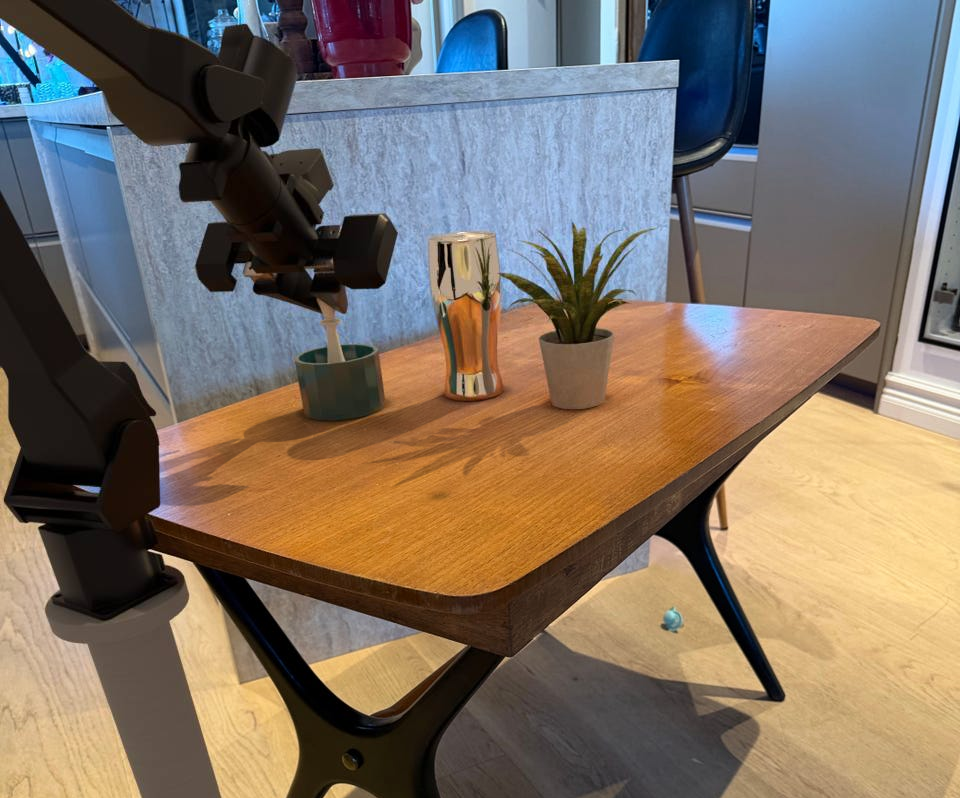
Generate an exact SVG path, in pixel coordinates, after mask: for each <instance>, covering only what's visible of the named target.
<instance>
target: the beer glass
mask: <svg viewBox="0 0 960 798" xmlns="http://www.w3.org/2000/svg"><path fill="white" fill-rule="evenodd" d="M427 247H428V248H427V249H428V251H427V253H428V255H427V256H428V258H427V259H428V278H429V279H428V280H429V289H430V297H431V302H432V307H433V312H434V316H435V321H436V324H437V327H438V332H439V335H440V340H441V343H442V347H443V350H444V358H445V371H446V372H445V381H444V382H445V383H444V395H445V397H446V398H448V399H449V400H452V401H458V402H474V401H475V402H477V401H483V400H488V399H492V398H495V397H498V396H499V395H501V394H503V392H504V383H503V379H502V377H501V376H502V375H501V371H500V367H499V359H498V341H499V330H500V319H501V318H500V317H501V309H502V308H501V307H502V276H501V275H500V274H498V273H501V264H500V257H499V249H498V243H497V233H496V231H495V232H494V231H490V230H471V231H470V230H468V231H457V232H449V233H442V234H437V235H433V236H430V237H428V238H427Z"/></svg>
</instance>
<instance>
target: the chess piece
mask: <svg viewBox="0 0 960 798" xmlns="http://www.w3.org/2000/svg"><path fill="white" fill-rule="evenodd" d="M316 300H317V302H318V304H319V306H320V308H321V311H322V313H323V314H322V315H323V317H324V318H323V319H322V320H320V321H319V326H321V327H325V328H326V343H327V344H326V346H327V349H328V363H335V362H343V361H345V359H344V356H343V353H342V349H341V345H340V344H341V342H340V338H339V333H338V330H337V326H338V325H340V324H342V320H341V318H337V317H336V316H335V314H336V310H334V309H333V308H331V307H330V306H328V305H327V304H326V303H324V302H323V301H321V300H320V299H318V298H317V297H316Z"/></svg>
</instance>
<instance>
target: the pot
mask: <svg viewBox="0 0 960 798" xmlns="http://www.w3.org/2000/svg"><path fill="white" fill-rule="evenodd" d="M340 345H341V349H342V353H343V356H344V359H345V361H343V362H335V363H328V349H327V345H326V346H321V347H320V346H319V347H316V348H312V349H308V350H306V351H302V352H300V353H299V354H297V355H295V356H294V358H293V359H294V365H295V371H296V376H297V381H298V386H299V393H300V398H301V404H302V410H303V413H304V416H305V417H307V418H308V419H311V420H315V421H323V422H324V421H327V422H329V421H330V422H331V421H333V422H335V421H346V420H353V419H358V418H363V417H366V416H369V415H373V414H375V413H378V412H379V411H381V410H383V409H384V408H385V406H386V396H385V389H384V381H383V372H382V367H381V359H380V358H381V357H380V351H379V348H378V347H377V346H375V345H371V344H368V343H367V344H366V343H342V344H341V343H340Z"/></svg>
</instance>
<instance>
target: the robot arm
mask: <svg viewBox="0 0 960 798" xmlns="http://www.w3.org/2000/svg"><path fill="white" fill-rule="evenodd" d="M0 20H1V21H3V22H5V23H6V24H7V25H9V26H11V27H12V28H13V29H15V30H16V31H17V32H19V33H21V34H22V35H23V36H25V37H27V38H28V39H29V40H31V41H32V42H33V43H35V44H37V45H38V46H40V47H41V48H43V49H44V50H45V51H47V52H48V53H50V54H51V55H53V56H54V57H56V58H57V59H59V61H62V62H63V63H65V65H68V66H69V67H71V68H72V69H73V70H75V71H76V72H78V73H79V74H80V75H82V76H84V77H85V78H87V79H88V80H89V81H91V83H93V84H94V85H95V86H96V87H97V88H98V89H99V90H100V91H101V93H102V96H103V98H104V100H105V104H106V105H107V108H108V110H109V112H110V113H111V114H112V116H114V117H115V118H116V119H117V120H118V121H119V122H120V123H121V124H123V126H125V128H127V129H128V130H129V131H130V132H131V133H132V134H133V135H135V136H136V138H137V139H139V141H141V142H142V143H144V144H146V145H148V146H151V147H166V146H176V145H189V146H188V149H187V153H186V155H185V159H184V161H183V162H181V161H180V163H179V164H178V169H179V175H180V176H179V182H178V193H179V199H180V201H181V202H182V203H198V202H199V203H200V202H210V203H211V204H212V205H213V206H214V207H215V209H216V210H217V212H218V213H220V215H221V217H223V219H224V220H225V221H213V222H208V223H207V225H206V229H205V232H204V235H203V239H202V241H201V244H200V247H199V251H198V255H197V258H196V261H195V264H194V270H195V274H196V277H197V280H198V281H199V282H200V283H201V284H202V285H203V286H204V287H205V288H206V289H207V290H208V291H209V293H227V292H228V293H231V292H235V291H234V290H235V288H236V285H237V282H238V280H237V278H236V277H234V275H233V271H234V268H235V265H238V264H239V265H240V264H241V265H242V264H243V265H244V267H243V271H242V275H243V276H244V278H249V279H250V280H251V282H253V285H252V292H253V293H254V294H255V295H257V296H264V297H267V298H272V299H275V300H279V301H281V302H285V303H289V304H292V305H293V306H298V307H301V308H304V309H307V310H308V311H313V312H315V313H318V314H321V315H323V313H322V311H321V308H320V306H319V304H318V302H317V300H316V297H317V298H318V299H320V300H321V301H323V302H324V303H326V304H327V305H328V306H330V307H331V308H333V309H334V310H335V312H338V313H340V314H342V315H346V314H347V312H348V308H349V302H348V301H349V300H348V296H347V290H346V288H348V289H350V290H380V288H381V287H382V286H384V285H385V284H386V282H387V278H388V275H389V271H390V266H391V262H392V258H393V255H394V251H395V246H396V242H397V238H398V234H399V232H398V231H397V228H396V227H395V225H394V223H393V222H392V219H390V217H389V216H388V214H387V213H386V212H385V213H383V212H382V213H363V214H361V213H360V214H350V215H349V214H348V215H346V216H344V217H343V220H342V224H331V225H330V224H328V225H326V224H325V225H322V222H323V218H324V216H325V211H324V209H322V207H321V205H320V204H321V203H322V201H323V199H325V197H326V195H327V193H328V192H329V191H332V189H333V188H334V182H333V179H332V176H331V174H330V170H329V167H328V165H327V162H326V159H325V156H324V153H323V151H322V149H321V148H317V147H316V148H315V147H314V148H303V149H292V150H291V149H290V150H284V151H280V152H278V153H270V154H269V153H268V152H267V151H266V150H262V148H268V147H271V146H273V145H275V144H276V143H278V142H279V140H280V138H281V135H282V133H283V128H284V125H285V122H286V119H287V114H288V113H289V108H290V105H291V102H292V97H293V94H294V90H295V88H296V84H297V81H298V80H297V79H298V69H297V66H296V64H295V62H294V60H293V58H292V57H291V55H290V54H289V53H287V52H285V51H284V50H283V49H282V48H281V47H279V46H278V45H277V44H275V43H274V42H272V41H270V40H268V39H267V38H264V37H261V36H258V35H255V34H254V33H253V31H252V30H251V28H250V26H249V25H248V23H241V24H234V25H232V24H231V25H226V26H224V29H223V32H222V35H221V40H220V47H219V51H218V54H217V55H216V54H215V53H214V52H213V51H212V50H210V49H209V48H207V47H206V46H203V45H202V44H200V43H198V42H197V41H195V40H193V39H191V38H189V37H188V36H186V35H184V34H182V33H179V32H175V31H171V30H167V29H164V28H161V27H156V26H153V25H150V24H147V23H145V22H143V20H140V19H138V18H136V17H135V16H133V15H132V14H131V13H129V11H127V10H126V9H124V8H123V7H122V6H121V5H120V4H119V3H117V2H116V1H115V0H0ZM318 225H319V226H318ZM317 226H318V227H317ZM316 227H317V228H316ZM307 270H312V271H313V278H312V276H311V274H309V272H308V271H307ZM0 367H1V369H2V370H3V372H4V374H5V376H6V378H7V379H6V380H7V418H8V423H9V425H10V427H11V429H12V431H13V433H14V436H15V438H16V440H17V443H18V445H19V447H20V449H19V451H18V454H17V458H16V461H15V463H14V467H13V468H12V472H11V475H10V479H9V482H8V485H7V487H6V490H5V493H4V496H3V503H4V505H5V506H6V508H7V509H8V510H9V511H10V512H11V514H12V515H13V516H14V518H15V519H16V520H17V521H18V522H19V523H20V524H30V523H31V524H32V523H33V524H42V525H40V526H37V531H38V533H39V535H40V536H39V537H40V539H41V541H42V544H43V546H44V549H45V552H46V555H47V558H48V561H49V563H50V565H51V569H52V572H53V575H54V577H55V580H56V582H57V586H58V588H59V590H60V591H61V592H58V593H56V592H55V593H56V594H55V593H53V594H54V595H53V594H52V595H53V596H52V595H51V596H52V597H51V596H50V598H51V600H52V602H53V604H56V605H58V606H61V607H64V608H67V609H70V610H73V611H75V612H78V613H81V614H84V615H87V616H90V617H93V618H95V619H98V620H101V621H107V620H110V619H113V618H114V617H116V616H118V615H120V614H122V613H124V612H126V611H128V610H129V609H131V608H133V607H135V606H137V605H139V604H141V603H143V602H145V601H146V600H148V599H150V598H152V597H154V596H156V595H158V594H160V593H161V592H163V591H165V590H167V589H169V588H171V587H173V586H175V585H176V584H177V583H178V581H177V578H176V576H173V575H170V574H166V573H163V572H162V571H164V570H165V565H166V563H165V561H164V557H163V554H162V553H157V552H153V551H149V550H152V549H153V548H155V546H156V545H157V544H159V539H158V535H157V531H156V529H155V528H156V527H155V525H154V521H153V519H152V518H150V517H147V515H149V514H150V513H152V512H153V511H155V510H157V509H159V508H160V506H161V477H160V476H161V474H160V473H161V471H160V439H159V434H158V430H157V428H156V426H155V423H154V421H153V419H152V418H151V417H156V416H157V411H156V410H155V409H154V408H153V407H152V406H151V405H150V404H149V402H148V400H147V399H146V398H145V396H144V394H143V391H142V389H141V386H140V383H139V382H138V381H139V380H138V378H137V375H136V373H135V371H134V370H133V369H132V368H131V366H130V365H129V363H127V362H126V361H112V360H111V361H109V360H107V361H106V360H105V361H104V360H103V361H101V360H98V359H97V358H95V357H94V356H93V355H92V354H91V353H89V352H88V351H87V349H86V348H85V347H84V345H83V344H82V342H81V341H80V339H79V337H78V335H77V333H76V330H74V327H73V325H72V323H71V321H70V320H69V318H68V316H67V314H66V311H65V310H64V308H63V307H62V305H61V303H60V301H59V299H58V297H57V295H56V293H55V291H54V289H53V287H52V285H51V283H50V282H49V279H48V278H47V276H46V274H45V272H44V270H43V269H42V267H41V264H40V263H39V261H38V259H37V257H36V255H35V253H34V251H33V249H32V248H31V246H30V243H29V242H28V240H27V238H26V236H25V234H24V233H23V230H22V228H21V226H20V225H19V223H18V221H17V219H16V217H15V215H14V213H13V212H12V210H11V208H10V205H9V203H8V202H7V200H6V198H5V196H4V195H3V193H2V191H1V190H0ZM74 486H78V487H90V488H99V491H98V492H94V491H93V492H92V491H80V490H74Z"/></svg>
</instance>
